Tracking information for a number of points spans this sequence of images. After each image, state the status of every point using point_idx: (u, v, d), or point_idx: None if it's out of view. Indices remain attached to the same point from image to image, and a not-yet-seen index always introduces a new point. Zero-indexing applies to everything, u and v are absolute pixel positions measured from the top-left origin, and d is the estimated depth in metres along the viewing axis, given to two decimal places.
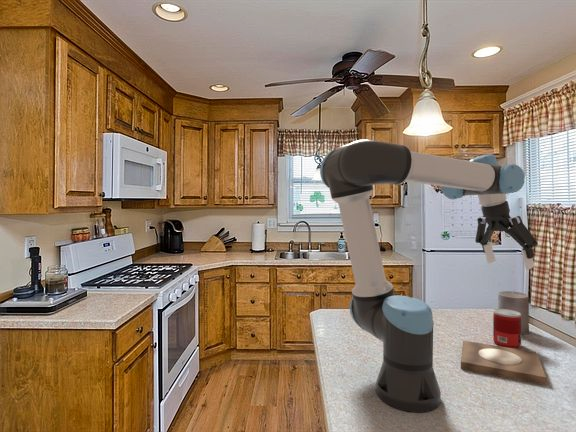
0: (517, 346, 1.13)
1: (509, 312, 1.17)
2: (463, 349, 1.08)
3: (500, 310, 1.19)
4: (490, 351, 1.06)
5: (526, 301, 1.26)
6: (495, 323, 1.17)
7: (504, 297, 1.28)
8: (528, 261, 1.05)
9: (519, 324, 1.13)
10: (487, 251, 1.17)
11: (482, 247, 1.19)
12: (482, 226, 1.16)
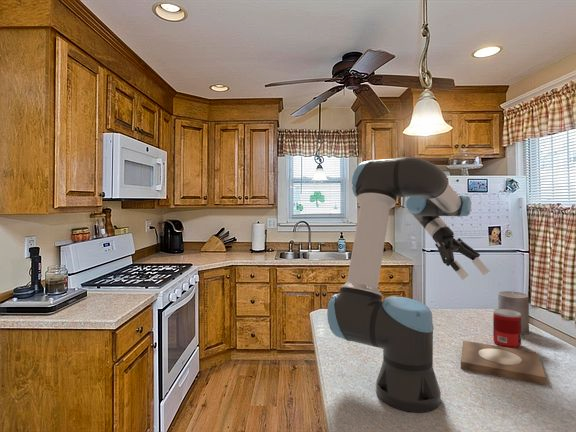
0: (517, 346, 1.13)
1: (509, 312, 1.17)
2: (463, 349, 1.08)
3: (500, 310, 1.19)
4: (490, 351, 1.06)
5: (526, 301, 1.26)
6: (495, 323, 1.17)
7: (504, 297, 1.28)
8: None
9: (519, 324, 1.13)
10: None
11: (454, 264, 1.24)
12: None
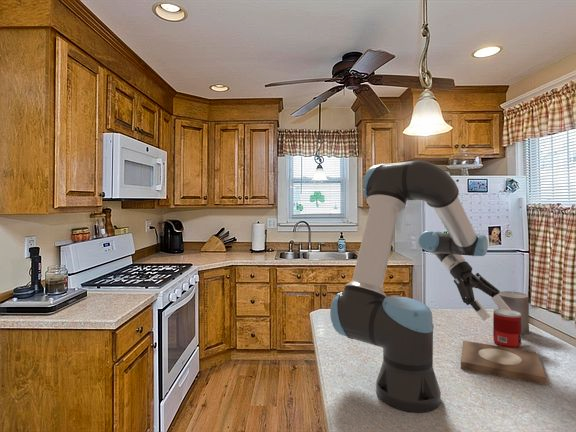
0: (517, 346, 1.13)
1: (509, 312, 1.17)
2: (463, 349, 1.08)
3: (500, 310, 1.19)
4: (490, 351, 1.06)
5: (526, 301, 1.26)
6: (495, 323, 1.17)
7: (504, 297, 1.28)
8: None
9: (519, 324, 1.13)
10: None
11: (474, 304, 1.19)
12: None
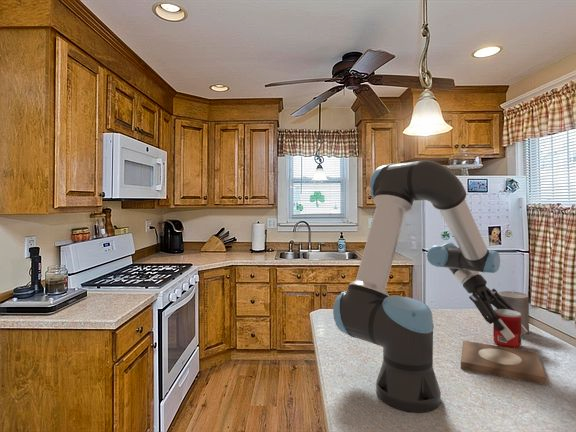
0: (517, 346, 1.13)
1: (509, 312, 1.17)
2: (463, 349, 1.08)
3: (500, 310, 1.19)
4: (490, 351, 1.06)
5: (526, 301, 1.26)
6: None
7: (504, 297, 1.28)
8: None
9: (519, 324, 1.13)
10: None
11: (498, 323, 1.14)
12: None
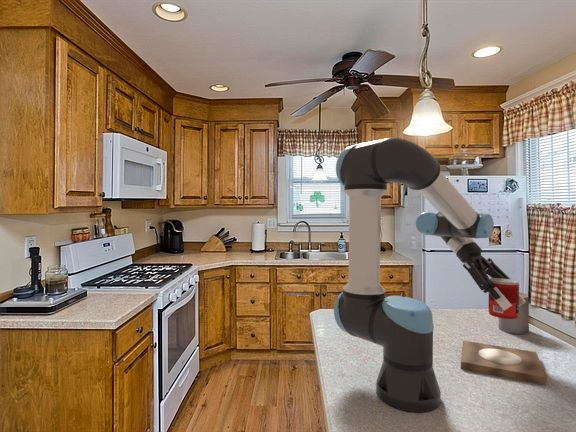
0: (514, 316, 1.04)
1: (506, 281, 1.08)
2: (463, 349, 1.08)
3: (496, 279, 1.10)
4: (490, 351, 1.06)
5: (526, 301, 1.26)
6: None
7: None
8: None
9: (517, 292, 1.04)
10: None
11: (493, 291, 1.04)
12: None
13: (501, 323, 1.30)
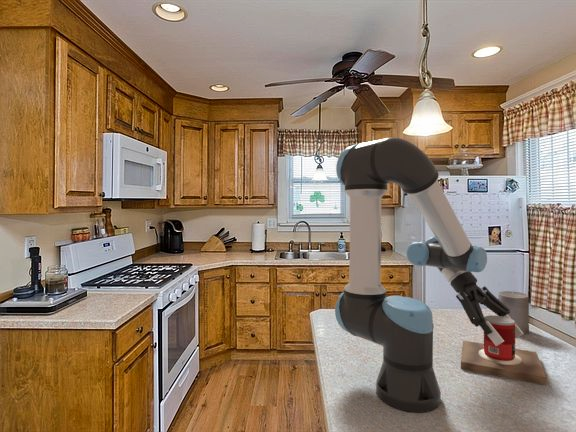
0: (510, 358, 0.99)
1: (501, 319, 1.03)
2: (463, 349, 1.08)
3: (491, 317, 1.05)
4: None
5: (526, 301, 1.26)
6: None
7: (504, 297, 1.28)
8: None
9: (513, 333, 0.99)
10: None
11: (485, 325, 0.99)
12: None
13: None
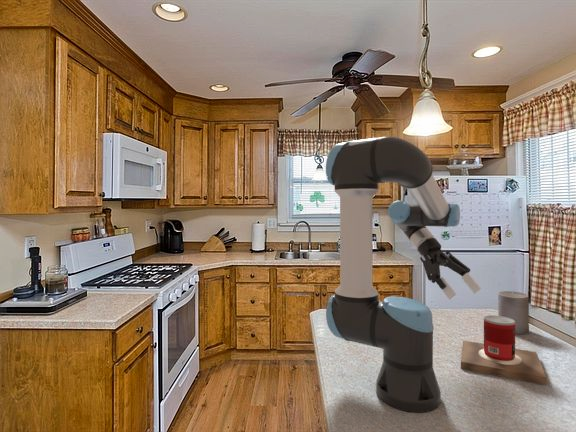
0: (510, 358, 0.99)
1: (502, 319, 1.03)
2: (463, 349, 1.08)
3: (492, 317, 1.05)
4: None
5: (526, 301, 1.26)
6: (485, 331, 1.03)
7: (504, 297, 1.28)
8: None
9: (513, 333, 0.99)
10: None
11: (440, 281, 1.10)
12: None
13: None
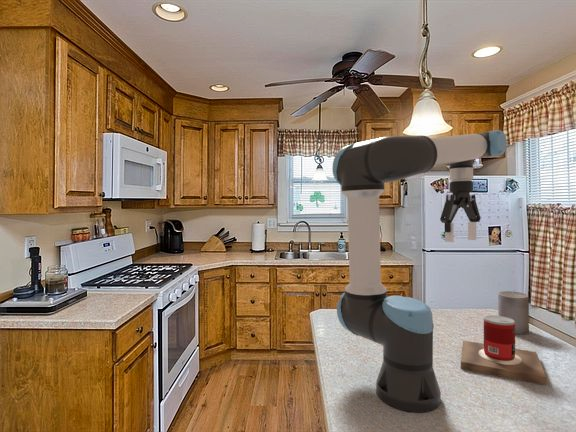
0: (510, 358, 0.99)
1: (502, 319, 1.03)
2: (463, 349, 1.08)
3: (492, 317, 1.05)
4: None
5: (526, 301, 1.26)
6: (485, 331, 1.03)
7: (504, 297, 1.28)
8: None
9: (512, 333, 0.99)
10: None
11: (448, 226, 1.17)
12: None
13: None
